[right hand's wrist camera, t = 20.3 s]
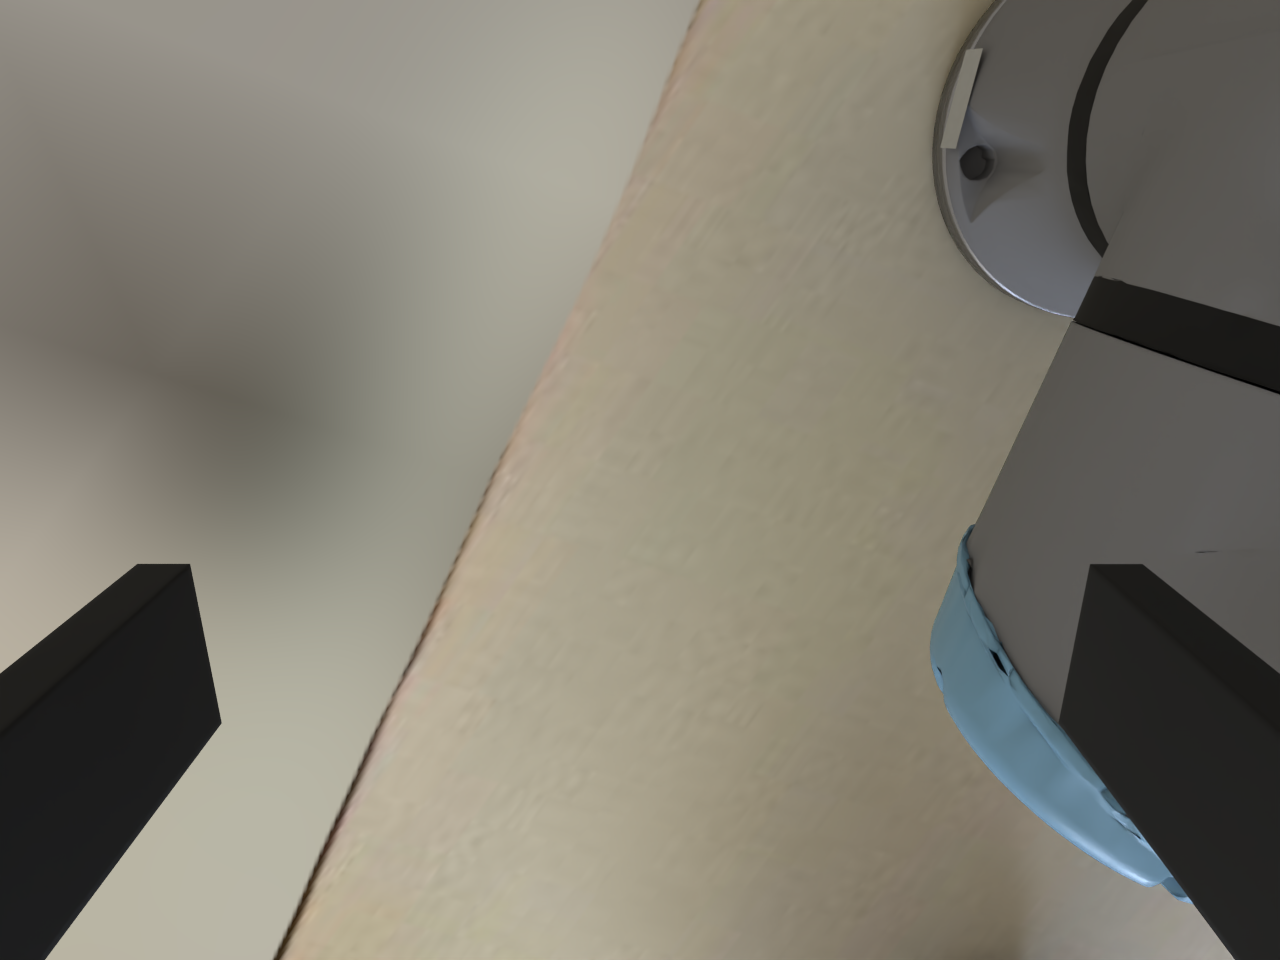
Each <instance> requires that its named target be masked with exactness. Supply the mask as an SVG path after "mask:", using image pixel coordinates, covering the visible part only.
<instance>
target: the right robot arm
mask: <svg viewBox="0 0 1280 960" xmlns="http://www.w3.org/2000/svg"><path fill="white" fill-rule="evenodd" d="M933 174H934V183H935V189H936V194H937V199H938V203H939V206H940V210H941V213H942V216H943V219H944V221H945V224H946V226H947V228H948V231H949V233H950V235H951V237H952V238H953V240H954V242H955V244H956V246H957V247H958V249H959V250H960V252H961V253H962V254H963V256H964V257H965V259H966V260H967V261H968V262H969V264H970V265H971V266H972V267H973V268H974V269H975V270H976V271H977V272H978V273H979V274H980V275H981V276H982V277H983V278H984V279H985V280H987V281H988V282H989V283H990V284H991V285H993V286H994V287H996V288H997V289H999V290H1000V291H1001V292H1003V293H1005V294H1007V295H1009V296H1010V297H1012V298H1014V299H1016V300H1018V301H1021V302H1023V303H1026V304H1028V305H1031V306H1033V307H1036V308H1039V309H1041V310H1044V311H1048V312H1051V313H1054V314H1058V315H1062V316H1068V317H1073V318H1074V319H1073V320H1074V321H1071V323H1070V326H1069V328H1068V330H1067V332H1066V334H1065V336H1064V338H1063V340H1062V343H1061V345H1060V347H1059V349H1058V351H1057V353H1056V355H1055V357H1054V360H1053V362H1052V364H1051V366H1050V368H1049V370H1048V372H1047V374H1046V376H1045V379H1044V381H1043V383H1042V385H1041V387H1040V389H1039V391H1038V393H1037V396H1036V398H1035V400H1034V402H1033V404H1032V406H1031V408H1030V410H1029V413H1028V415H1027V417H1026V419H1025V421H1024V423H1023V425H1022V427H1021V430H1020V432H1019V434H1018V436H1017V438H1016V440H1015V442H1014V444H1013V446H1012V449H1011V451H1010V453H1009V455H1008V457H1007V459H1006V461H1005V463H1004V466H1003V468H1002V470H1001V472H1000V474H999V476H998V478H997V480H996V483H995V485H994V487H993V489H992V491H991V493H990V495H989V497H988V500H987V502H986V504H985V506H984V508H983V510H982V512H981V514H980V516H979V518H978V520H977V522H976V524H974V525H971V526H970V527H969V528H968V529H967V531H966V532H965V534H964V536H963V538H962V540H961V543H960V546H959V548H958V554H957V566H956V569H955V571H954V574H953V576H952V579H951V582H950V584H949V587H948V589H947V592H946V594H945V597H944V599H943V602H942V604H941V607H940V610H939V612H938V614H937V617H936V619H935V621H934V625H933V629H932V632H931V641H930V657H931V665H932V669H933V672H934V675H935V678H936V681H937V684H938V686H939V688H940V690H941V691H942V693H943V694H944V702H945V705H946V708H947V710H948V712H949V714H950V716H951V717H952V719H953V720H954V722H955V724H956V725H957V727H958V729H959V730H960V732H961V733H962V735H963V736H964V738H965V739H966V740H967V742H968V743H969V745H970V746H971V747H972V749H973V750H974V751H975V752H976V754H977V755H978V756H979V757H980V759H981V760H982V761H983V762H984V763H985V765H986V766H987V767H988V768H989V769H990V770H991V771H992V773H993V774H994V775H995V776H996V777H997V778H998V779H999V780H1000V781H1001V782H1002V783H1003V784H1004V785H1005V786H1006V787H1007V788H1008V789H1009V790H1010V791H1011V792H1012V793H1013V794H1014V795H1015V796H1016V797H1017V798H1018V799H1019V800H1020V801H1021V802H1022V803H1024V804H1025V805H1026V806H1027V807H1028V808H1029V809H1030V810H1031V811H1032V812H1034V813H1035V814H1036V815H1037V816H1038V817H1039V818H1041V819H1042V820H1043V821H1044V822H1045V823H1046V824H1047V825H1049V826H1050V827H1051V828H1053V829H1054V830H1055V831H1056V832H1058V833H1059V834H1060V835H1062V836H1063V837H1064V838H1066V839H1067V840H1068V841H1070V842H1071V843H1072V844H1074V845H1075V846H1077V847H1078V848H1079V849H1081V850H1082V851H1084V852H1085V853H1087V854H1088V855H1090V856H1091V857H1093V858H1094V859H1096V860H1097V861H1099V862H1100V863H1102V864H1104V865H1106V866H1107V867H1109V868H1111V869H1112V870H1114V871H1116V872H1117V873H1119V874H1121V875H1123V876H1125V877H1127V878H1129V879H1131V880H1133V881H1135V882H1137V883H1139V884H1141V885H1143V886H1146V887H1152V886H1155V885H1157V884H1160V883H1161V884H1162V885H1163V886H1164V887H1165V888H1166V889H1167V890H1168V891H1169V892H1170V893H1171V894H1172V895H1173V896H1174V897H1175V898H1176V899H1178V900H1180V901H1184V902H1187V903H1191V904H1194V905H1195V907H1196V908H1197V909H1198V911H1199V912H1200V913H1201V915H1202V916H1203V917H1204V919H1205V920H1206V921H1207V923H1208V924H1209V925H1210V927H1211V928H1212V929H1213V931H1214V932H1215V934H1216V935H1217V936H1218V938H1219V939H1220V940H1221V942H1222V943H1223V944H1224V946H1225V947H1226V948H1227V950H1228V951H1229V952H1230V954H1231V955H1232V956H1233V958H1234V959H1235V960H1280V0H995V1H994V3H993V4H992V5H991V6H990V7H989V9H988V10H987V11H986V12H985V14H984V15H983V16H982V17H981V18H980V20H979V21H978V23H977V24H976V26H975V27H974V29H973V30H972V32H971V33H970V34H969V36H968V38H967V39H966V41H965V43H964V45H963V46H962V48H961V50H960V52H959V54H958V55H957V58H956V60H955V62H954V64H953V66H952V69H951V71H950V73H949V76H948V78H947V81H946V84H945V87H944V89H943V92H942V96H941V100H940V104H939V107H938V111H937V117H936V123H935V128H934V139H933ZM1075 321H1076V322H1075ZM220 725H221V718H220V713H219V708H218V703H217V698H216V693H215V687H214V682H213V677H212V672H211V667H210V662H209V657H208V652H207V647H206V642H205V637H204V632H203V627H202V622H201V617H200V612H199V607H198V602H197V597H196V592H195V587H194V582H193V577H192V572H191V567H190V564H137V565H136V566H134V567H133V568H132V569H131V570H129V571H128V572H127V573H126V574H124V575H123V576H122V577H121V578H119V579H118V580H117V581H116V582H114V583H113V584H112V585H111V586H109V587H108V588H107V589H106V590H104V591H103V592H102V593H101V594H99V595H98V596H97V597H96V598H94V599H93V600H92V601H91V602H89V603H88V604H87V605H86V606H84V607H83V608H82V609H81V610H79V611H78V612H77V613H76V614H74V615H73V616H72V617H71V618H69V619H68V620H67V621H66V622H64V623H63V624H62V625H60V626H59V627H58V628H57V629H55V630H54V631H53V632H52V633H50V634H49V635H48V636H47V637H45V638H44V639H43V640H42V641H40V642H39V643H38V644H37V645H35V646H34V647H33V648H32V649H30V650H29V651H28V652H27V653H25V654H24V655H23V656H22V657H20V658H19V659H18V660H17V661H15V662H14V663H13V664H12V665H10V666H9V667H8V668H7V669H5V670H4V671H3V672H2V673H0V960H45V959H46V958H47V956H48V955H49V954H50V952H51V951H52V950H53V948H54V947H55V945H56V944H57V943H58V942H59V940H60V939H61V937H62V936H63V935H64V933H65V932H66V931H67V929H68V928H69V927H70V925H71V924H72V923H73V921H74V920H75V919H76V917H77V916H78V915H79V913H80V912H81V911H82V909H83V908H84V907H85V905H86V904H87V903H88V901H89V900H90V899H91V897H92V896H93V895H94V893H95V892H96V891H97V889H98V888H99V887H100V885H101V884H102V883H103V881H104V880H105V879H106V877H107V876H108V875H109V873H110V872H111V871H112V869H113V868H114V867H115V865H116V864H117V863H118V861H119V860H120V858H121V857H122V856H123V854H124V853H125V852H126V850H127V849H128V848H129V846H130V845H131V844H132V842H133V841H134V840H135V838H136V837H137V836H138V834H139V833H140V832H141V830H142V829H143V828H144V826H145V825H146V824H147V822H148V821H149V820H150V818H151V817H152V816H153V814H154V813H155V812H156V810H157V809H158V807H159V806H160V805H161V804H162V802H163V801H164V800H165V798H166V797H167V796H168V794H169V793H170V791H171V790H172V789H173V788H174V786H175V785H176V783H177V782H178V781H179V779H180V778H181V777H182V775H183V774H184V773H185V771H186V770H187V769H188V767H189V766H190V765H191V763H192V762H193V761H194V759H195V758H196V757H197V755H198V754H199V753H200V751H201V750H202V749H203V747H204V746H205V745H206V743H207V742H208V741H209V739H210V738H211V737H212V735H213V734H214V733H215V731H216V730H217V728H218V727H219V726H220Z"/></svg>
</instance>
